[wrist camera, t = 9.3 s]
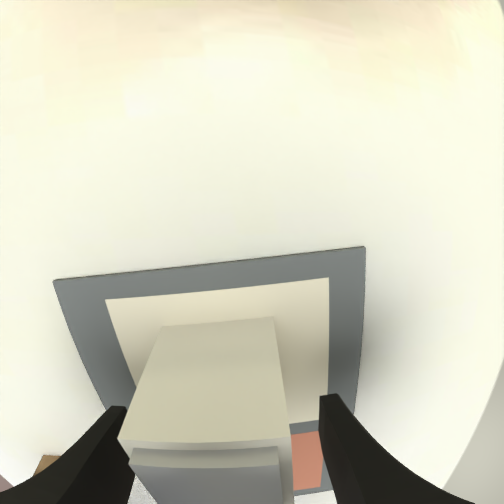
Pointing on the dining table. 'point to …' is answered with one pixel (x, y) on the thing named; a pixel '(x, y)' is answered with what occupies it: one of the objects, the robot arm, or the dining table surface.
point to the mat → (229, 309)
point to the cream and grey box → (212, 417)
